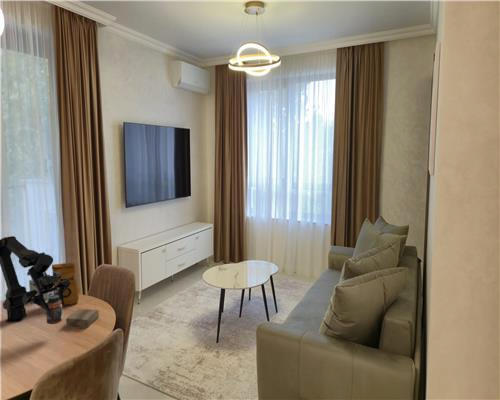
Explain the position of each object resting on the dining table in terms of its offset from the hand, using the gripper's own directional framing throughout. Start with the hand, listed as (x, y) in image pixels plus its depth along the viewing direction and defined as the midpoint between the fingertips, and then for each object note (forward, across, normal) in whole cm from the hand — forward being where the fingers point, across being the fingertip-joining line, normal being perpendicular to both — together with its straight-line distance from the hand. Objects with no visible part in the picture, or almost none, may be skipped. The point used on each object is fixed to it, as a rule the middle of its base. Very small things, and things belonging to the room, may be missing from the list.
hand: (56, 307), depth 147 cm
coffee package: (-11, +23, +31) cm, 40 cm away
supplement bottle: (+4, 0, +6) cm, 7 cm away
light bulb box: (-23, +21, +44) cm, 54 cm away
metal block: (+8, +14, +11) cm, 20 cm away
